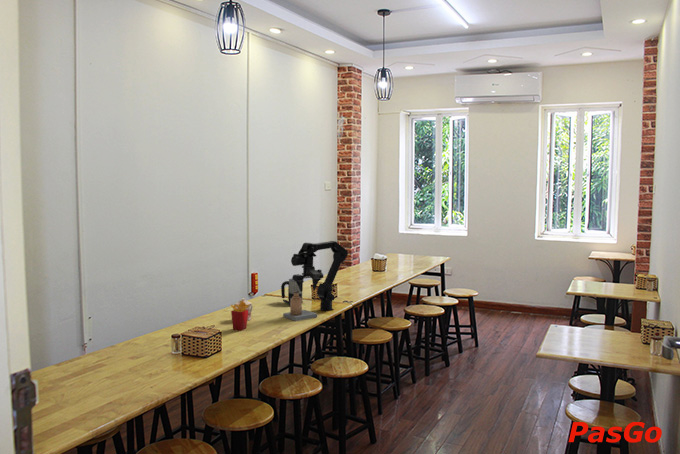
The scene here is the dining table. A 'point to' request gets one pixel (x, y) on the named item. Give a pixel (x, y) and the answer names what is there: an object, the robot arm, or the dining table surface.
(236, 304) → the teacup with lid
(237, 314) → the french fries
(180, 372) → the dining table surface
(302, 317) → the serving board
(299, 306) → the sauce bottle
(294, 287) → the milk frother
